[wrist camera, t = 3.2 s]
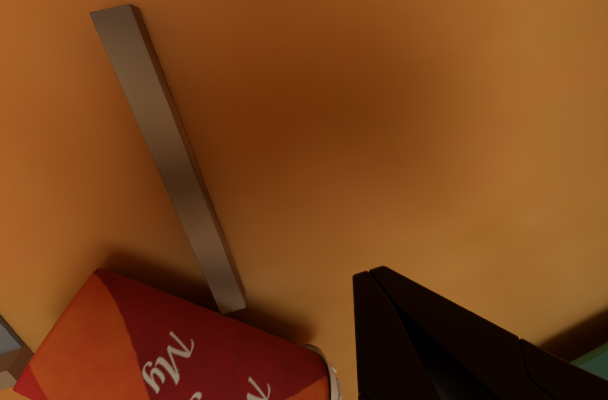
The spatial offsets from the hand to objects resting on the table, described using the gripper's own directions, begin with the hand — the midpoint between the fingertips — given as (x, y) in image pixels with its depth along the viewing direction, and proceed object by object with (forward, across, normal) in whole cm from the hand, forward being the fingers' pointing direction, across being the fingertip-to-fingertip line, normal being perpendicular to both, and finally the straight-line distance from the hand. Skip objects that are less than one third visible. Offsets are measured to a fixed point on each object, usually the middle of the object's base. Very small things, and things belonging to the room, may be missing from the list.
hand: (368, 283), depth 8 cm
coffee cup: (+8, +13, +4) cm, 16 cm away
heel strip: (+11, +6, 0) cm, 12 cm away
